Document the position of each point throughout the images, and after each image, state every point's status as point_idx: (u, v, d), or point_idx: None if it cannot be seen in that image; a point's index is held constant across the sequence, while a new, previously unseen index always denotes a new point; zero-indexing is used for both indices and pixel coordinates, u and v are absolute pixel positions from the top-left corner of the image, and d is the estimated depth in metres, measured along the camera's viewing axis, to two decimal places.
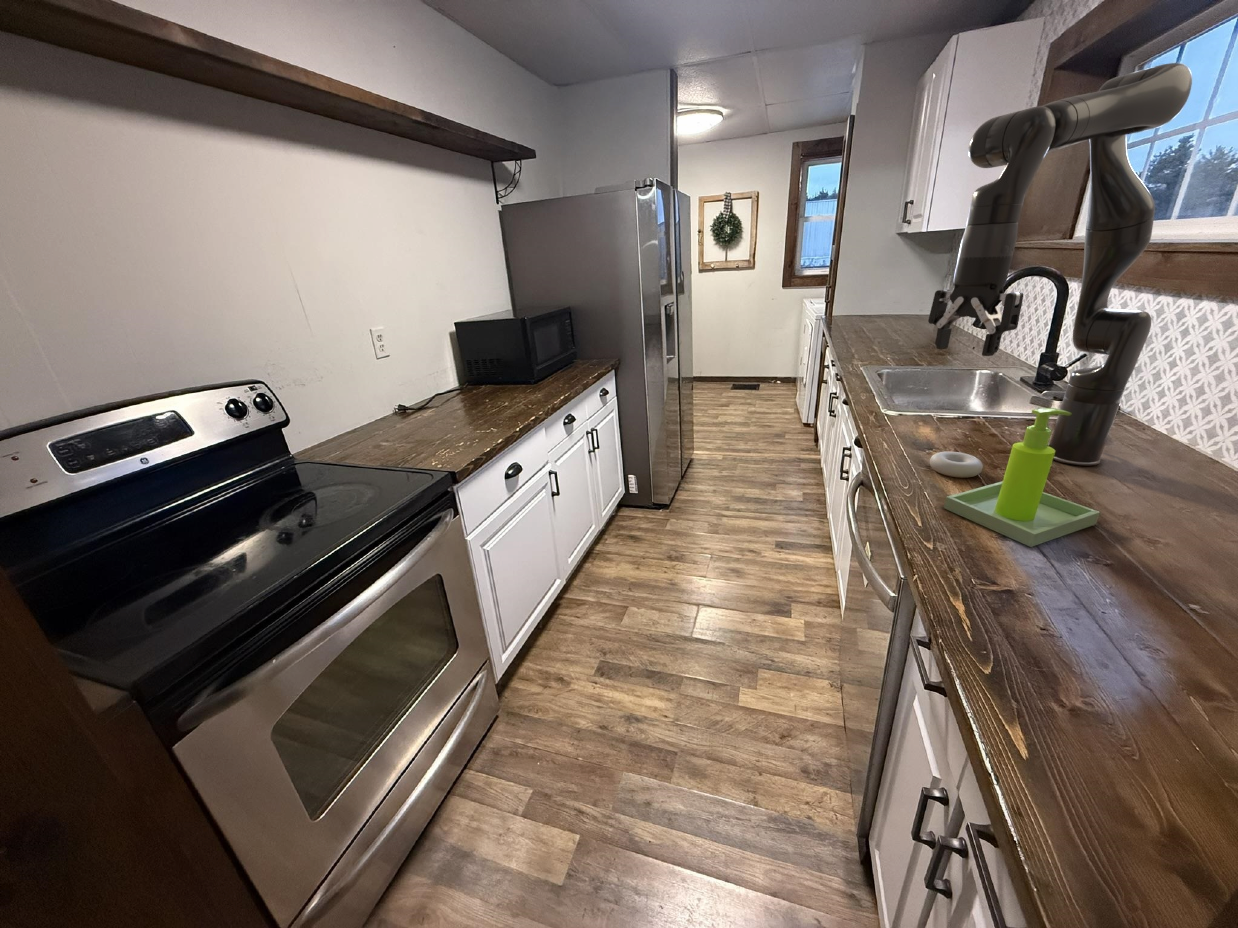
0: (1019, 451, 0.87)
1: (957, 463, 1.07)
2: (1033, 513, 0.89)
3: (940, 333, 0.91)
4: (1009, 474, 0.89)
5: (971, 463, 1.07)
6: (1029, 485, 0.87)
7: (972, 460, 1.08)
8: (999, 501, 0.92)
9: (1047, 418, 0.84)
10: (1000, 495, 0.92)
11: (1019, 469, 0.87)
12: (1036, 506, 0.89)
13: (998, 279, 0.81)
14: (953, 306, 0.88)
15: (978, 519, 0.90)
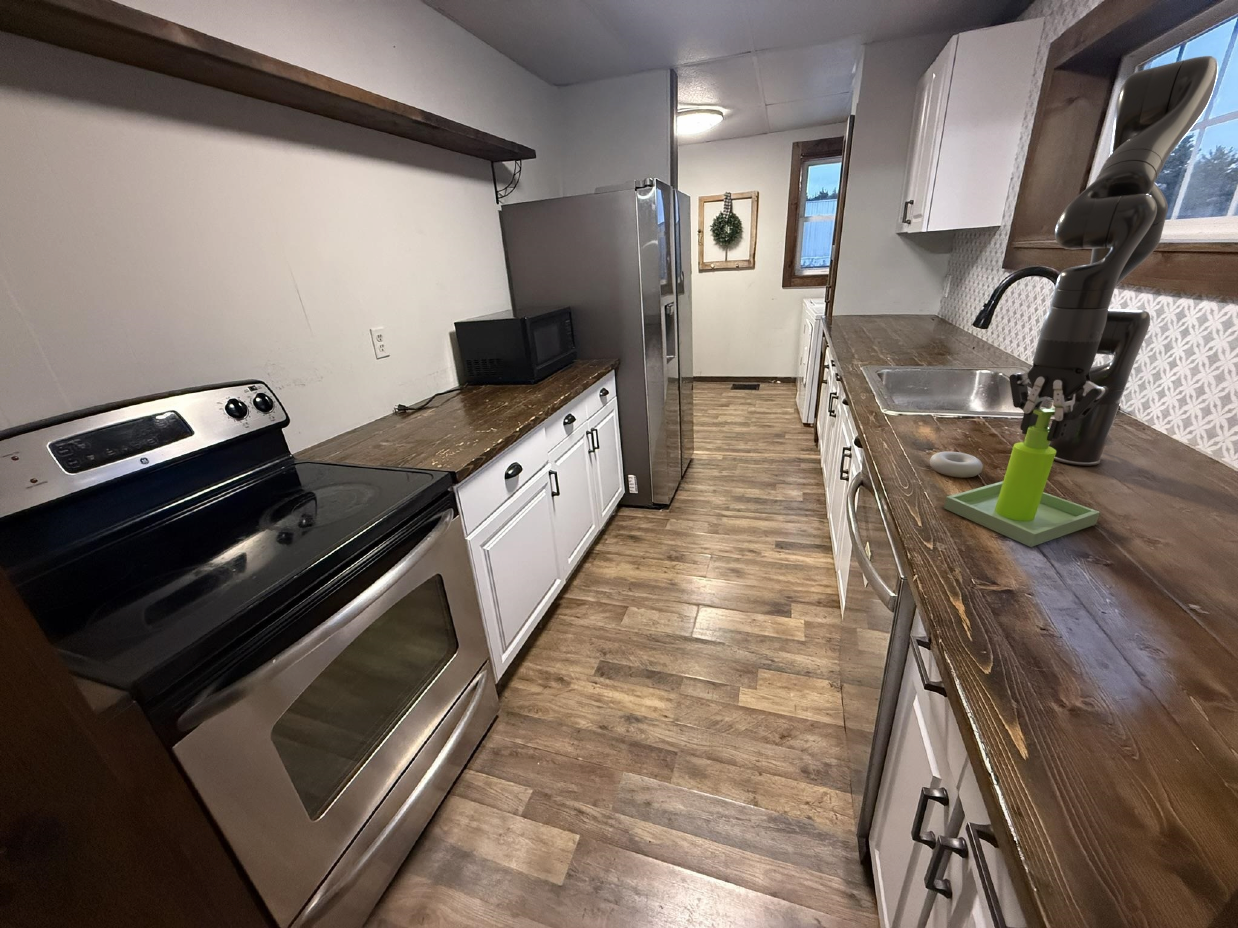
0: (1020, 451, 0.87)
1: (957, 463, 1.07)
2: (1033, 513, 0.89)
3: (1027, 418, 0.87)
4: (1010, 474, 0.89)
5: (971, 463, 1.07)
6: (1030, 485, 0.87)
7: (972, 460, 1.08)
8: (999, 501, 0.92)
9: (1048, 418, 0.84)
10: (1000, 495, 0.92)
11: (1020, 469, 0.87)
12: (1036, 506, 0.89)
13: (1085, 364, 0.78)
14: (1035, 388, 0.84)
15: (978, 519, 0.90)
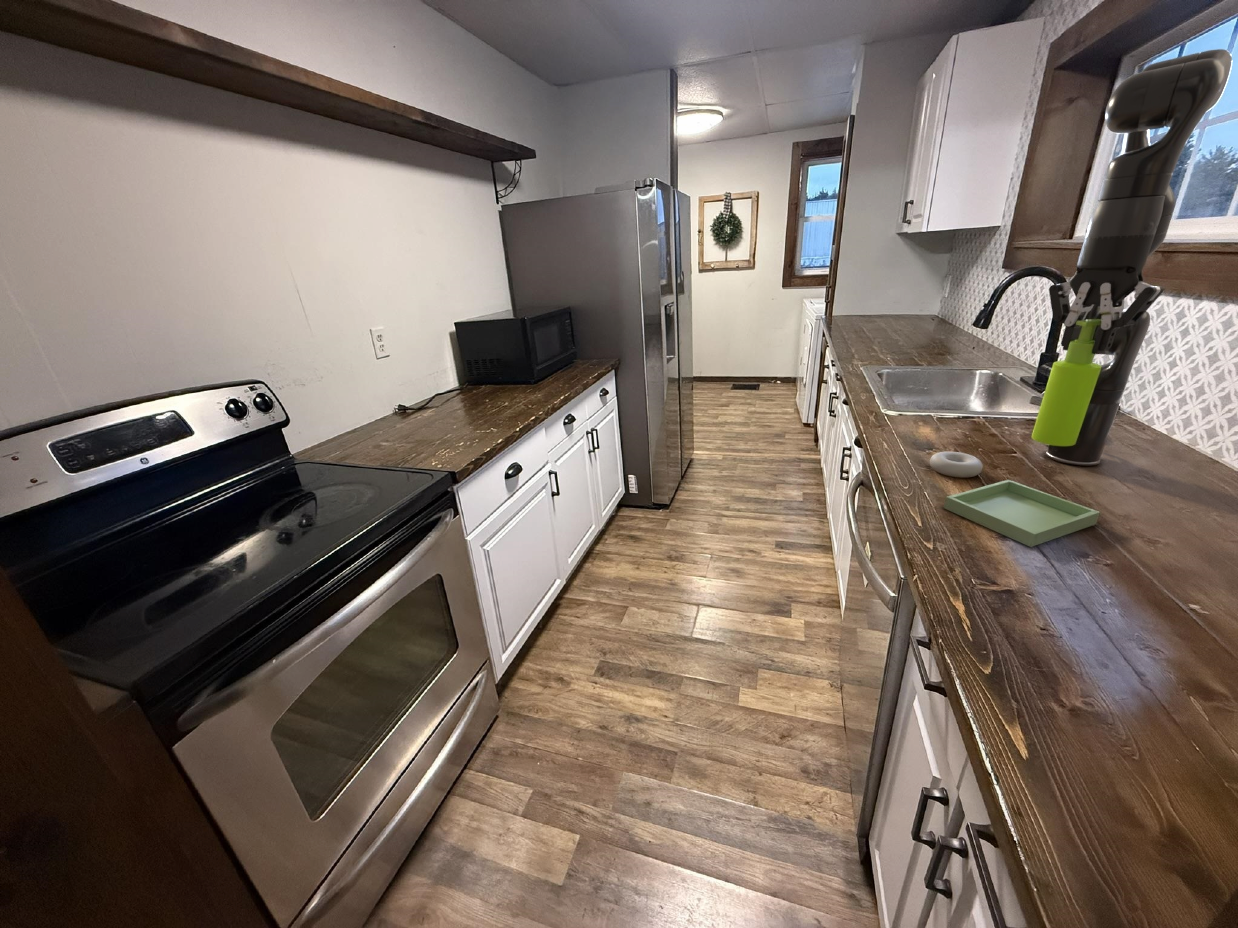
0: (1061, 368, 0.80)
1: (957, 463, 1.07)
2: (1074, 437, 0.82)
3: (1069, 332, 0.80)
4: (1049, 395, 0.82)
5: (971, 463, 1.07)
6: (1072, 404, 0.80)
7: (972, 460, 1.08)
8: (1036, 426, 0.85)
9: (1094, 329, 0.77)
10: (1038, 420, 0.85)
11: (1061, 388, 0.80)
12: (1078, 429, 0.82)
13: (1138, 262, 0.71)
14: (1079, 296, 0.77)
15: (978, 519, 0.90)
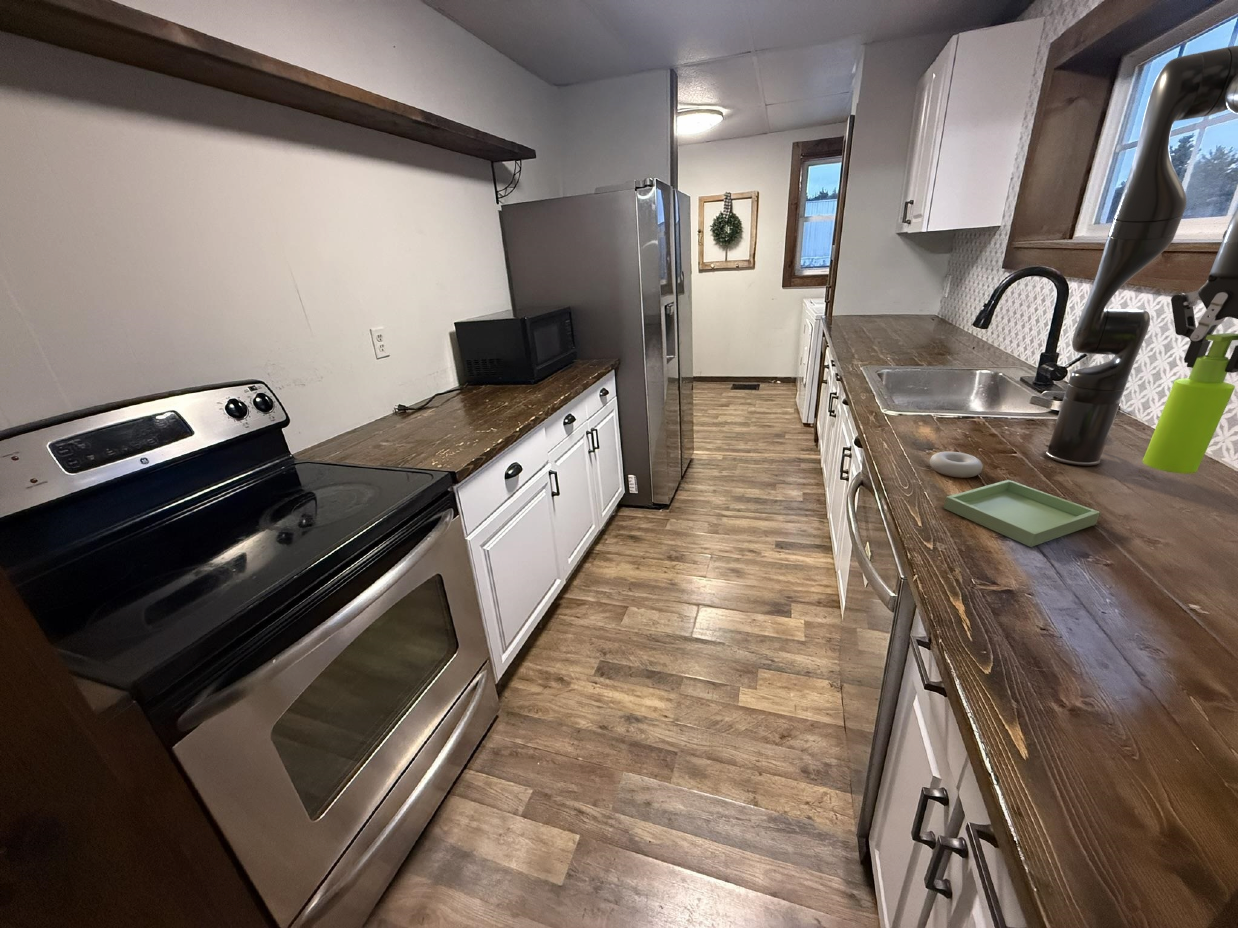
0: (1187, 387, 0.71)
1: (957, 463, 1.07)
2: (1198, 464, 0.74)
3: (1196, 347, 0.71)
4: (1170, 417, 0.74)
5: (971, 463, 1.07)
6: (1199, 428, 0.72)
7: (972, 460, 1.08)
8: (1151, 451, 0.77)
9: (1228, 344, 0.69)
10: (1153, 444, 0.76)
11: (1186, 409, 0.72)
12: (1203, 455, 0.73)
13: None
14: (1211, 307, 0.69)
15: (978, 519, 0.90)
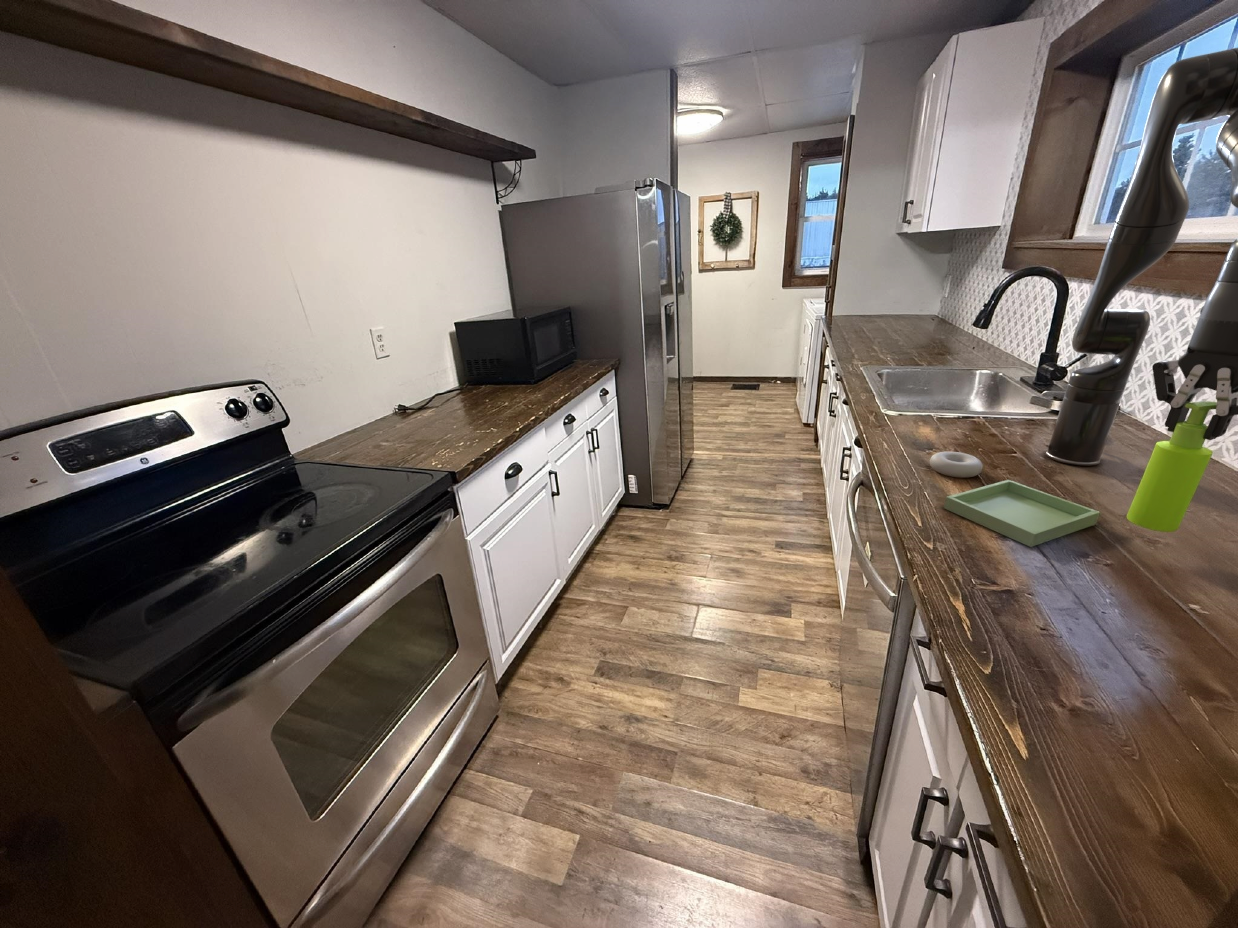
0: (1168, 452, 0.75)
1: (957, 463, 1.07)
2: (1179, 523, 0.77)
3: (1176, 413, 0.75)
4: (1152, 478, 0.77)
5: (971, 463, 1.07)
6: (1179, 490, 0.75)
7: (972, 460, 1.08)
8: (1134, 508, 0.80)
9: (1206, 413, 0.72)
10: (1136, 501, 0.80)
11: (1167, 472, 0.75)
12: (1183, 515, 0.77)
13: None
14: (1190, 378, 0.72)
15: (978, 519, 0.90)
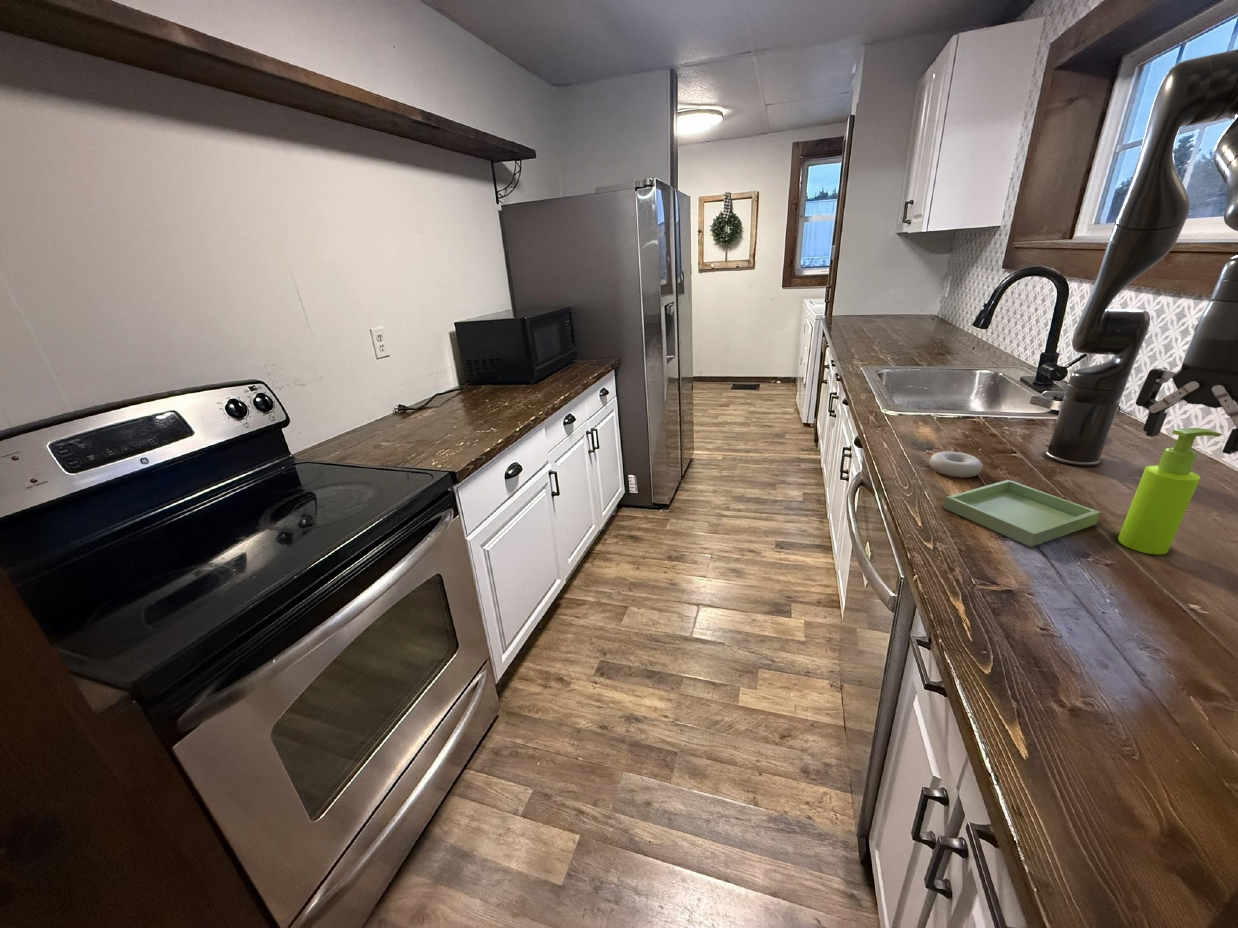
0: (1156, 477, 0.76)
1: (957, 463, 1.07)
2: (1168, 546, 0.79)
3: (1154, 418, 0.77)
4: (1141, 502, 0.79)
5: (971, 463, 1.07)
6: (1168, 514, 0.77)
7: (972, 460, 1.08)
8: (1125, 531, 0.82)
9: (1193, 439, 0.74)
10: (1127, 524, 0.81)
11: (1156, 497, 0.77)
12: (1172, 538, 0.78)
13: None
14: (1180, 391, 0.73)
15: (978, 519, 0.90)
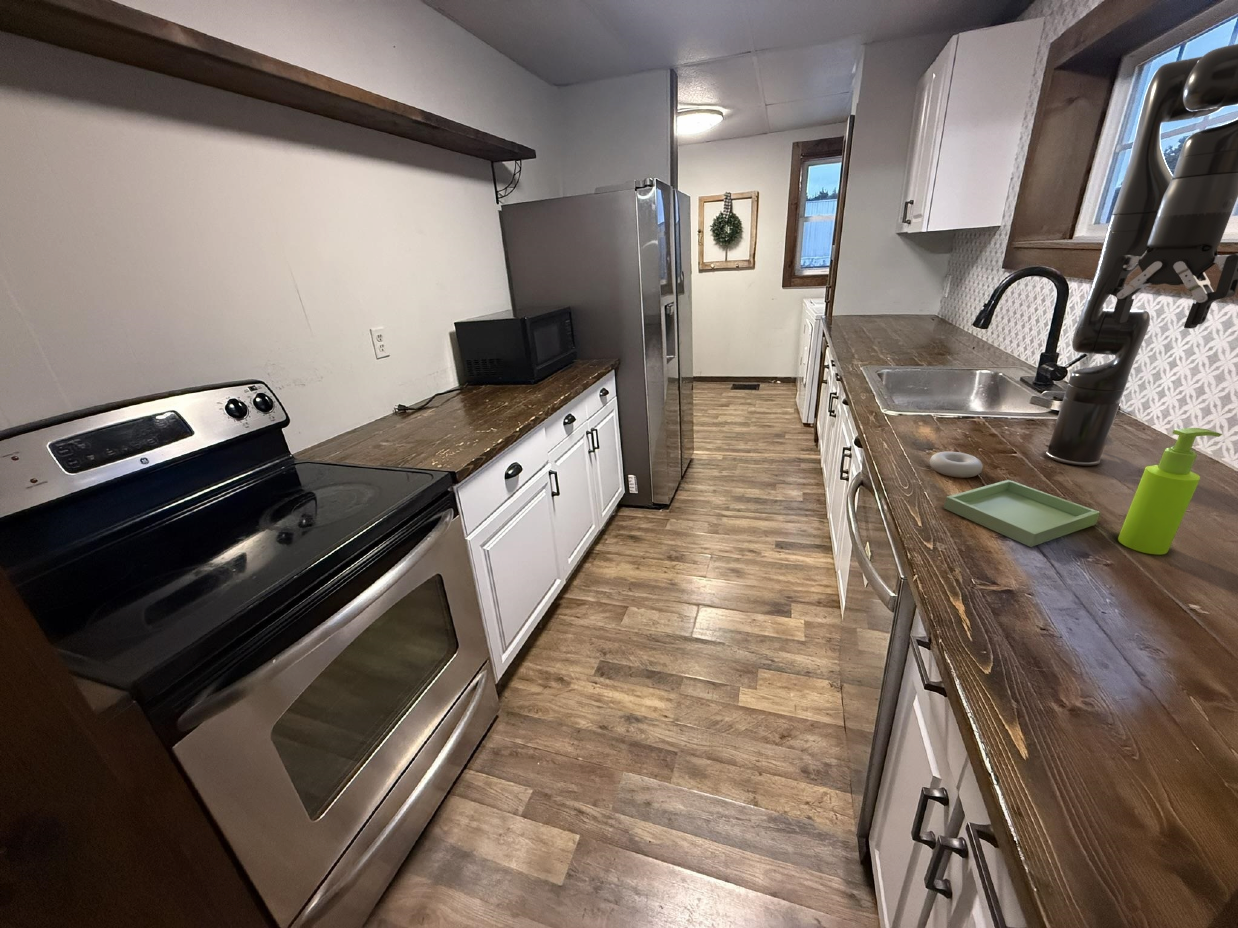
0: (1156, 477, 0.76)
1: (957, 463, 1.07)
2: (1168, 546, 0.79)
3: (1121, 304, 0.81)
4: (1141, 502, 0.79)
5: (971, 463, 1.07)
6: (1168, 514, 0.77)
7: (972, 460, 1.08)
8: (1125, 531, 0.82)
9: (1193, 439, 0.74)
10: (1127, 524, 0.81)
11: (1156, 497, 0.77)
12: (1172, 538, 0.78)
13: (1214, 239, 0.71)
14: (1145, 273, 0.77)
15: (978, 519, 0.90)
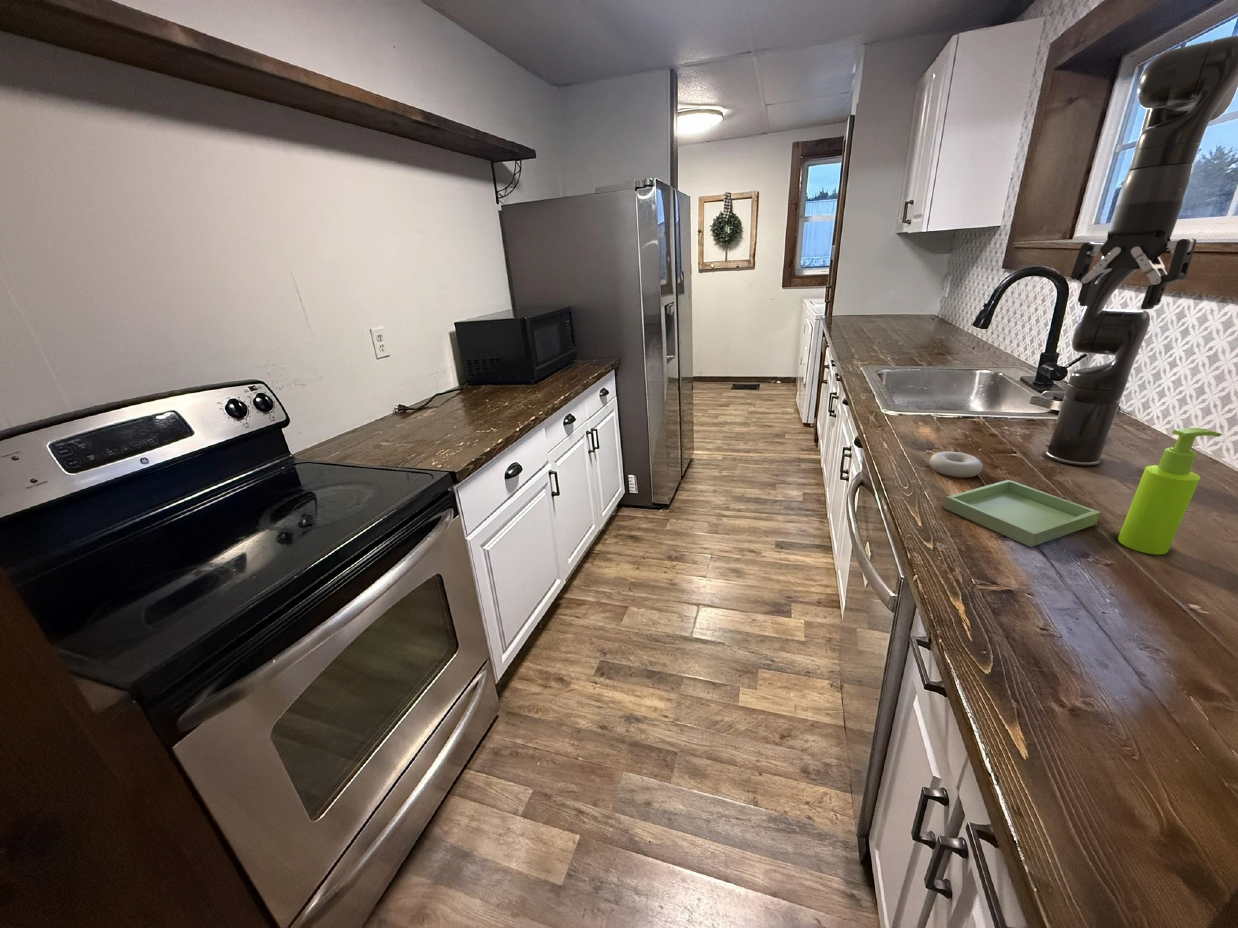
0: (1156, 477, 0.76)
1: (957, 463, 1.07)
2: (1168, 546, 0.79)
3: (1086, 288, 0.87)
4: (1141, 502, 0.79)
5: (971, 463, 1.07)
6: (1168, 514, 0.77)
7: (972, 460, 1.08)
8: (1125, 531, 0.82)
9: (1193, 439, 0.74)
10: (1127, 524, 0.81)
11: (1156, 497, 0.77)
12: (1172, 538, 0.78)
13: (1167, 226, 0.77)
14: (1106, 258, 0.83)
15: (978, 519, 0.90)
